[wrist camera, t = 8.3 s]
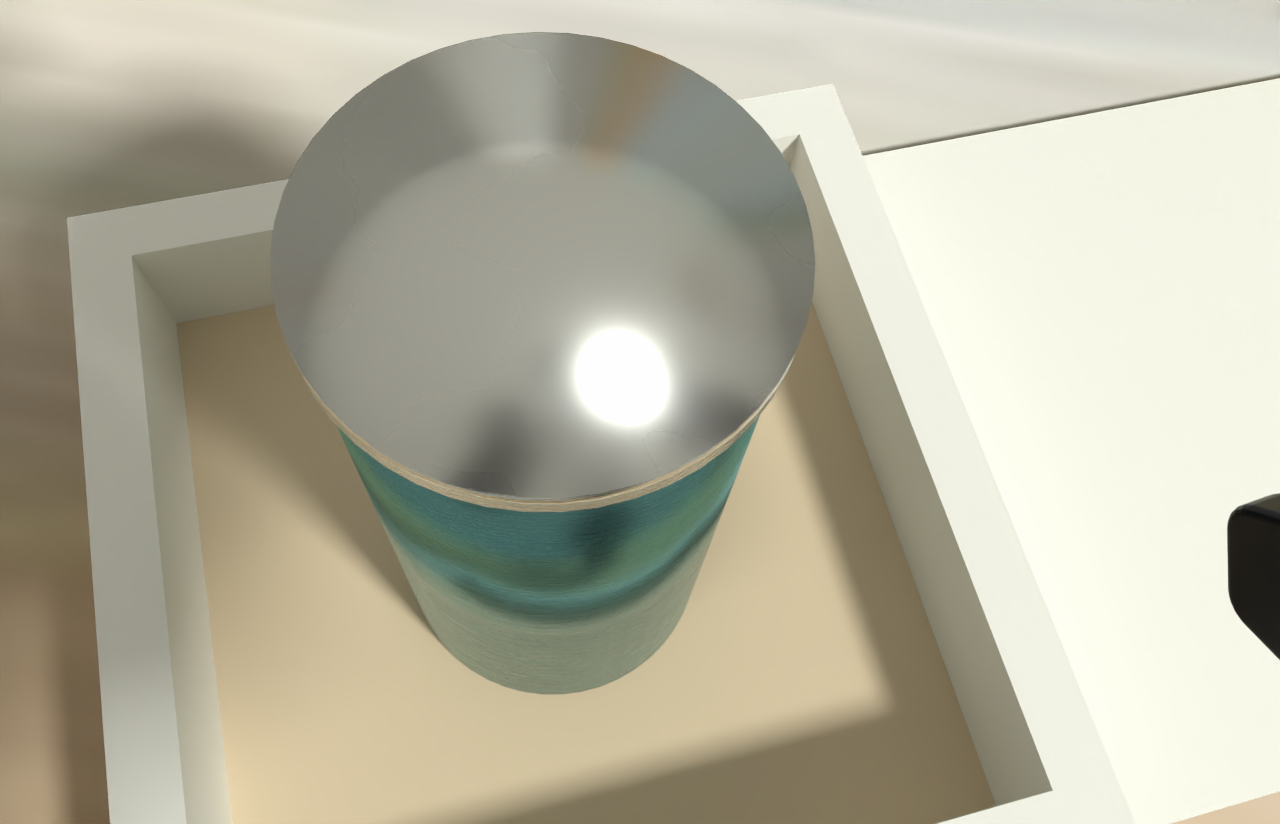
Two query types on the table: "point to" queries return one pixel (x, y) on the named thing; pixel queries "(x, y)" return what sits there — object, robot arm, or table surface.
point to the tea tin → (544, 334)
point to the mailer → (748, 517)
